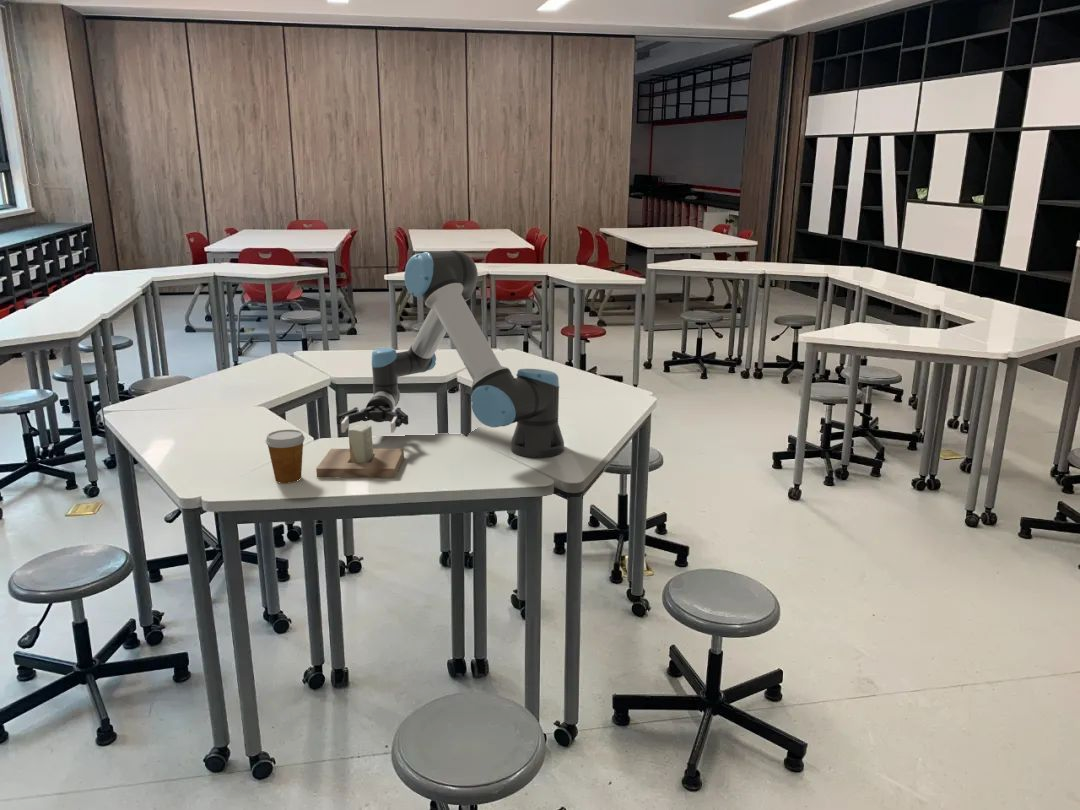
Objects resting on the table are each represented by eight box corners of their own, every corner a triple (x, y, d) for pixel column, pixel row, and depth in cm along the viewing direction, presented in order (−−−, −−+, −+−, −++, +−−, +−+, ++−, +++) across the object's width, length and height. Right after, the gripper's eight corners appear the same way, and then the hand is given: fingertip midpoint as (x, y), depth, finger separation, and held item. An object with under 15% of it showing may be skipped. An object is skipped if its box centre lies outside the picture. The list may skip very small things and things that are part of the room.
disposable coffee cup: (268, 474, 211) (265, 430, 207) (307, 471, 213) (303, 427, 210) (268, 487, 202) (264, 441, 199) (308, 483, 205) (305, 438, 202)
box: (360, 463, 220) (357, 423, 217) (374, 464, 219) (372, 425, 216) (350, 469, 215) (347, 429, 212) (364, 471, 214) (362, 431, 211)
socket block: (404, 457, 224) (403, 448, 224) (394, 477, 209) (394, 468, 208) (331, 457, 224) (330, 448, 224) (316, 477, 209) (316, 468, 208)
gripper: (422, 419, 245) (413, 440, 225) (339, 419, 245) (322, 440, 224) (421, 395, 243) (412, 414, 223) (338, 395, 243) (321, 414, 222)
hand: (367, 427), depth 224 cm, fingers open, 13 cm apart
